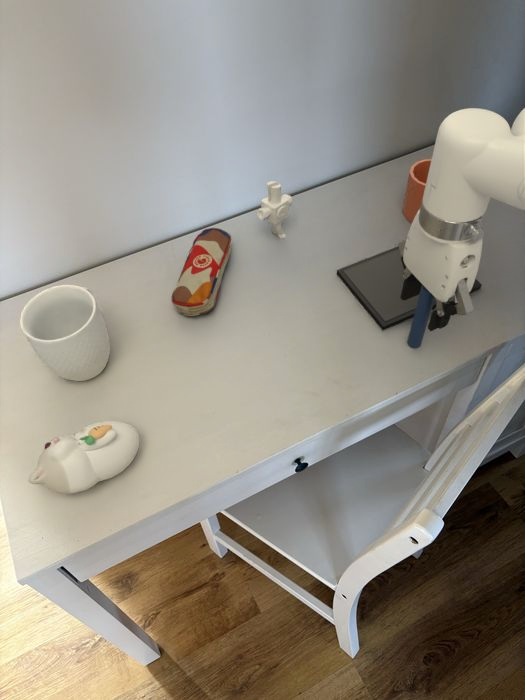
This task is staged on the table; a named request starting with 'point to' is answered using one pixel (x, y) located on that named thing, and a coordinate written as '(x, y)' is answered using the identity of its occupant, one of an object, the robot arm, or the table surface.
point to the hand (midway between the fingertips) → (423, 310)
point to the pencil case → (202, 273)
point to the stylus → (420, 318)
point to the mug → (67, 331)
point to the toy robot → (275, 208)
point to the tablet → (383, 288)
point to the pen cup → (415, 188)
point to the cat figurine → (86, 457)
